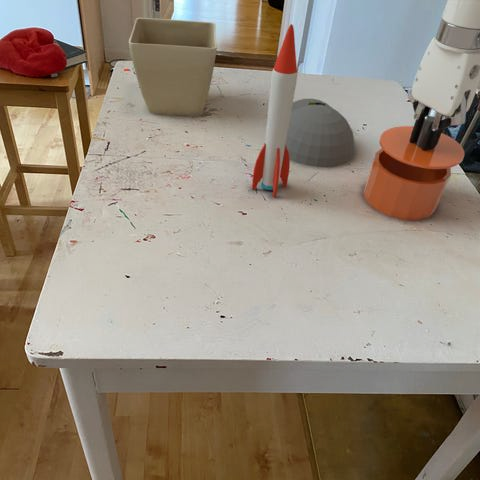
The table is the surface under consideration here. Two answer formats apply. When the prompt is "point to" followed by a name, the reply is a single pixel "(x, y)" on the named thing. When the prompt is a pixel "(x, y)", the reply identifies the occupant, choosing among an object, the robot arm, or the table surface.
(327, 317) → the table surface
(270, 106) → the toy rocket
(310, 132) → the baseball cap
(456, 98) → the robot arm
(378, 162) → the pot
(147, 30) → the flower pot
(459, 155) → the lid
